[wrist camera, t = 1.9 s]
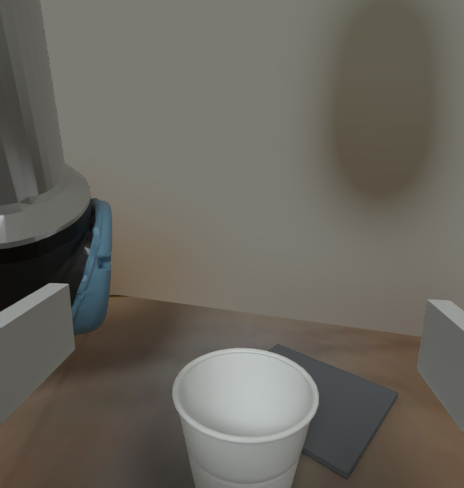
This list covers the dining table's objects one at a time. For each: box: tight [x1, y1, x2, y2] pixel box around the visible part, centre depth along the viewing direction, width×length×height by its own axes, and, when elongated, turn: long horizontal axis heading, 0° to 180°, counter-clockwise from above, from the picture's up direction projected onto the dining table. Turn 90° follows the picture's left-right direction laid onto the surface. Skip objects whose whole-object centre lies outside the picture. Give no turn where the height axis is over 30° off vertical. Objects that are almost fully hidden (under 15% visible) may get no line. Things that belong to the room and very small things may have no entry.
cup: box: [172, 348, 319, 488], centre depth 26 cm, size 10×10×11 cm
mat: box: [269, 344, 398, 479], centre depth 40 cm, size 16×14×1 cm
